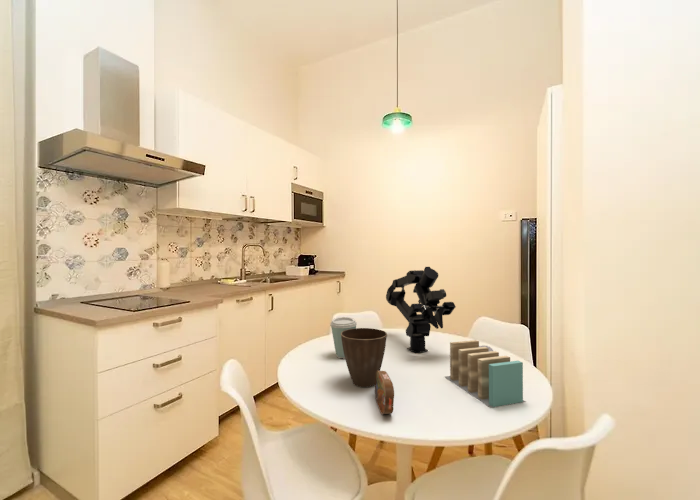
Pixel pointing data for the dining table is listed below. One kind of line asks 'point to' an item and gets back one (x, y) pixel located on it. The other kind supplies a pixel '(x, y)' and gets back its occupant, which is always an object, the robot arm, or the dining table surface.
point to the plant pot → (363, 354)
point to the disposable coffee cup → (338, 327)
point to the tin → (384, 392)
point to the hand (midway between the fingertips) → (440, 328)
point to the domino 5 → (505, 383)
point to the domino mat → (474, 393)
